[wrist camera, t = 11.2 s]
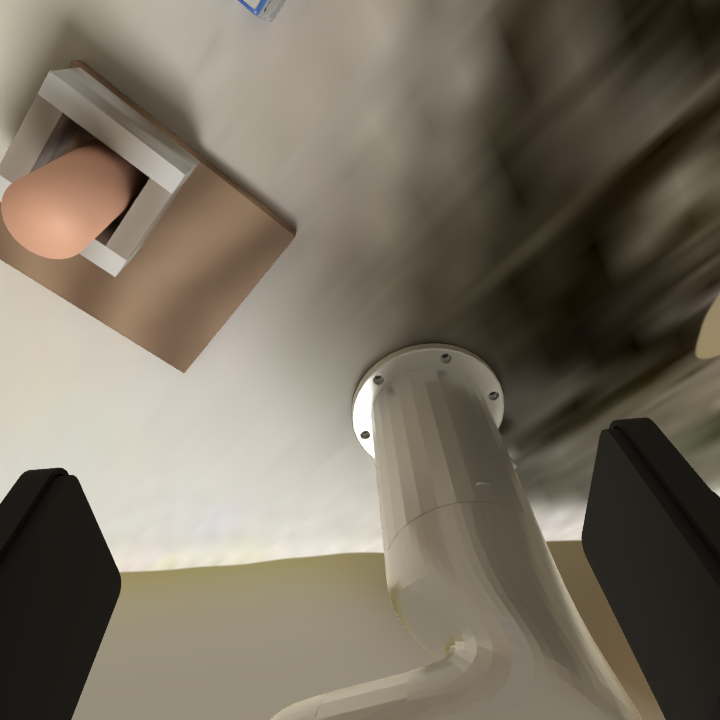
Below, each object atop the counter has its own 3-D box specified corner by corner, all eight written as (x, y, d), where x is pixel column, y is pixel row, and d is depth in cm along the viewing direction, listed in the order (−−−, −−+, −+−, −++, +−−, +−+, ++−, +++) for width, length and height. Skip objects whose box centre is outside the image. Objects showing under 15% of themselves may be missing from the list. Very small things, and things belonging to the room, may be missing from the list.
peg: (158, 163, 34) (105, 210, 26) (130, 214, 36) (71, 274, 27) (96, 121, 33) (19, 157, 24) (70, 176, 34) (-12, 228, 26)
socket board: (296, 231, 38) (291, 256, 34) (187, 365, 43) (170, 402, 39) (80, 60, 32) (40, 63, 28) (-16, 237, 37) (-64, 264, 33)
